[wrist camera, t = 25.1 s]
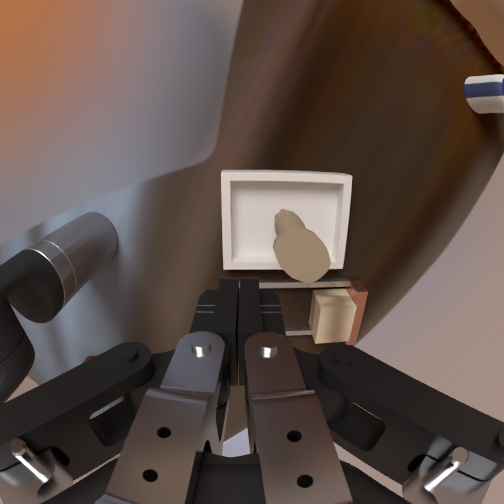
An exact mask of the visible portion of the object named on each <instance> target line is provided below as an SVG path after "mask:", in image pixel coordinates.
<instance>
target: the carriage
mask: <svg viewBox="0 0 504 504" xmlns="http://www.w3.org/2000/svg"><path fill="white" fill-rule="evenodd" d="M356 308H357V306H356V305H355V303H354V301H353V300H352V298H351V297H350V295H349V293H348V292H347V290H346V289H322V290H313V294H312V302H311V310H310V318H309V325H310V328H311V332H312V335H313V338H314V341H315V344H316V343H331V342H343V341H349V338H350V334H351V330H352V326H353V321H354V317H355V312H356Z"/></svg>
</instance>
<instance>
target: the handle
mask: <svg viewBox="0 0 504 504" xmlns="http://www.w3.org/2000/svg"><path fill="white" fill-rule="evenodd" d="M274 226H275V232H276V235H277V237H276V239H275V241H274V244H273V249H274V252H275V256H276V258H277V261H278V263H279V265H280V267H281V268H282V269H283V270H284V271H285V272H286V273H287V274H288V275H289V276H291V277H292V278H294V279H296V280H299V281H302V282H305V283H311V282H314V281H316V280H318V279H320V278H321V277H322V276H323V275H324V274H325V273H326V272H327V271H328V269H329V267H330V265H331V261H330V257H329V253H328V250H327V248H326V246H325V244H324V243H323V242H322V241H321V239H320V238H319V237H318V236H317V235H316V234H315V233H314V232H313V231H311V230H309V229H306V227H305V225H304V223H303V221H302V220H301V219H300V218H299V216H298V215H296V214H295V213H294V212H293V211H289V210H285V209H281V210H280V212H279V213H278V214H276V215H275V222H274Z"/></svg>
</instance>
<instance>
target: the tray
mask: <svg viewBox="0 0 504 504" xmlns="http://www.w3.org/2000/svg"><path fill="white" fill-rule="evenodd" d="M351 187H352V176H351V175H348V174H344V173H330V172H312V171H287V170H223V171H222V172H221V191H222V234H223V265H224V269H282V268H281V267H280V265H279V263H278V261H277V258H276V256H275V252H274V249H273V244H274V241H275V239H276V237H277V235H276V232H275V226H274V222H275V215H276V214H278V213H279V212H280V210H281V209H285V210H289V211H293V212H294V213H295V214H296V215H298V216H299V218H300V219H301V220H302V221H303V223H304V225H305V227H306V229H309V230H311V231H313V232H314V233H315V234H316V235H317V236H318V237H319V238H320V239H321V241H322V242H323V243H324V244H325V246H326V248H327V250H328V253H329V257H330V261H331V265H330V267H329V269H343V263H344V255H345V247H346V239H347V230H348V221H349V211H350V200H351Z"/></svg>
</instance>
